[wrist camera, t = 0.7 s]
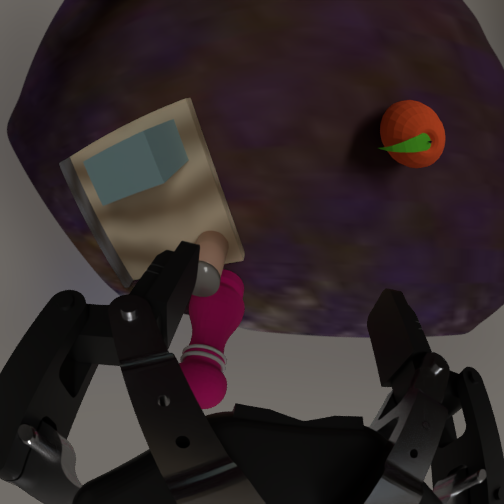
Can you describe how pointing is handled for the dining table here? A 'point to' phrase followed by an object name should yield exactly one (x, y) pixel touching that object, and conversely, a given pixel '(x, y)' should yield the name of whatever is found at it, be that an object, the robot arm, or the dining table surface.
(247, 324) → the dining table surface
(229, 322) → the pepper mill
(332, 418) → the robot arm
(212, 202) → the shelf board
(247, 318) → the dining table surface
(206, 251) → the spice jar
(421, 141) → the clementine
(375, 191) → the dining table surface
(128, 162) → the tea box
